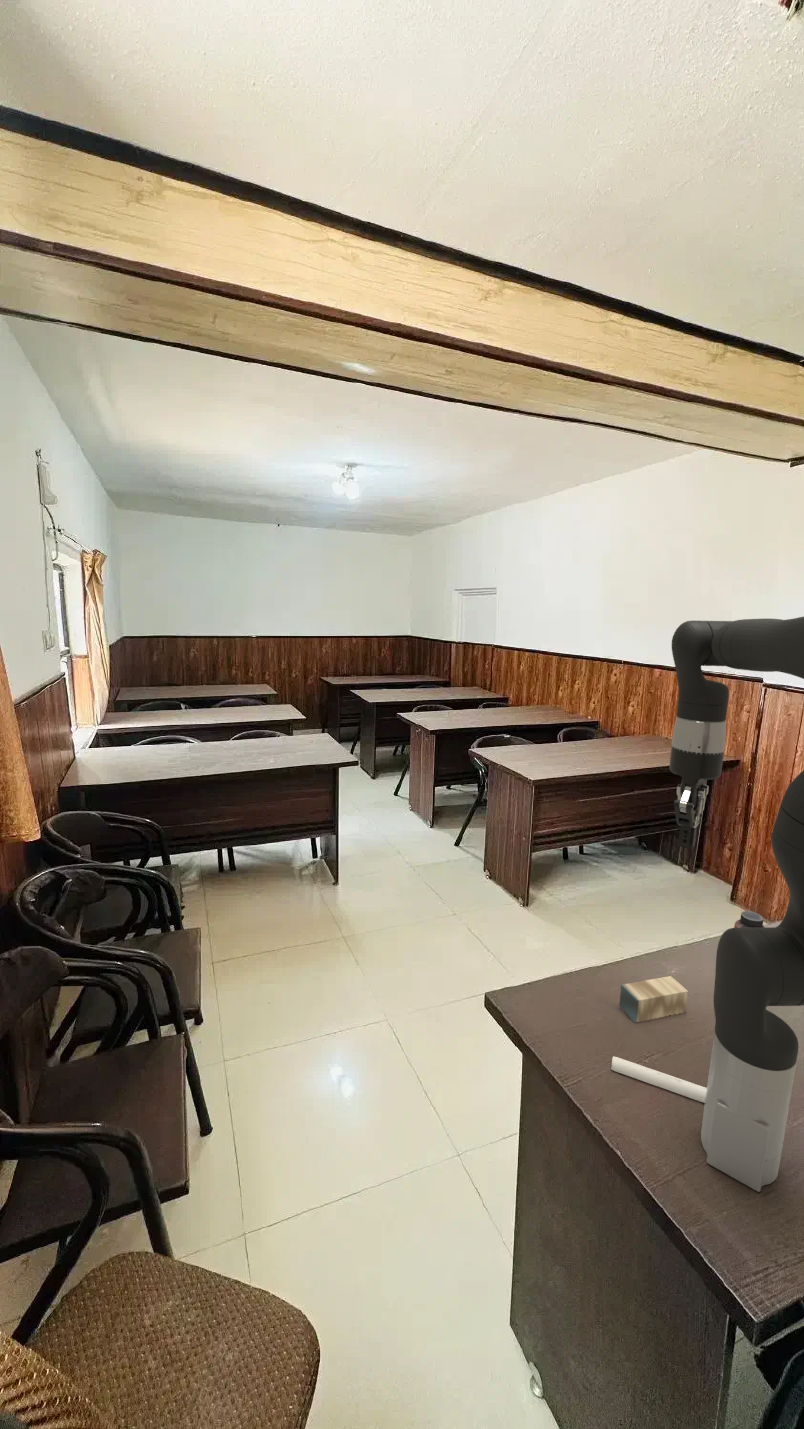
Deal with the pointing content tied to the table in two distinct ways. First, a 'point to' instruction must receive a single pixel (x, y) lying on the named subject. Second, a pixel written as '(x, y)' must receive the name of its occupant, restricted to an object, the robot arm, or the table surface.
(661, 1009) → the beech block
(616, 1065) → the marker
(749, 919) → the supplement bottle
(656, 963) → the table surface
